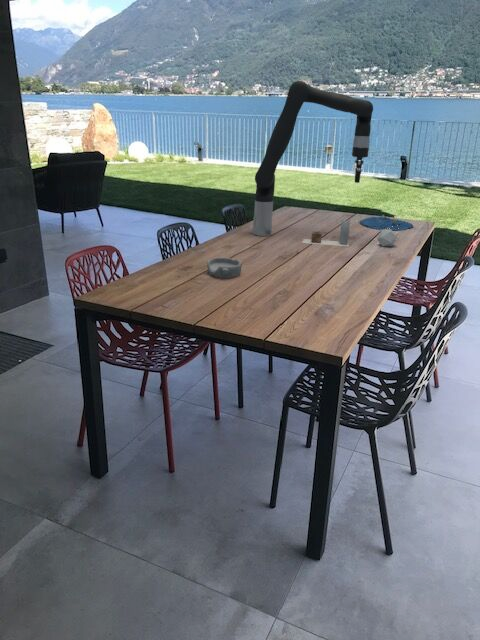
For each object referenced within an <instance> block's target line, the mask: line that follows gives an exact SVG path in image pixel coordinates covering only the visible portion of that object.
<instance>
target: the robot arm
mask: <svg viewBox="0 0 480 640" xmlns="http://www.w3.org/2000/svg"><path fill="white" fill-rule="evenodd" d="M286 96H287V97H286V99H285V103H284V106H283V109H282V111H281V112H280V115H279V116H278V119H277V121H276V123H275V125H274V128H273V129H272V133H271V135H270V138H269V140H268V144H267V147H266V151H265V154H264V157H263V159H262V161H261V164H260V166H259V167H258V170H257V171H256V173H255V175H254V181H255V184H256V185H255V186H256V188H255V190H256V191H255V195H254V215H253V220H252V221H253V222H252V235H254V236H259V237H269V236H271V235H272V232H273V230H272V228H273V211H274V209H273V207H274V195H275V186H276V185H275V183H276V176H275V175H276V174H275V173H276V169H277V166H278V164H279V162H280V160H281V159H282V157H283V155H284V154H285V151H286V150H287V148H288V147H289V144H290V141H291V139H292V136H293V133H294V131H295V130H294V129H295V126H296V123H297V119H298V115H299V112H300V110H301V109H302V107H303V104H304V103H311V104H317V105H320V106H323V107H327V108H329V109H332V110H336V111H339V112H344V113H350V114H352V115H356V124H355V130H354V137H353V141H352V148H351V149H352V150H351V151H352V152H351V156H352V157H354V158H356V159H355V160H354V183H357V184H359V183H360V181H361V174H362V171H363V166H364V160H363V158H368V157H369V152H370V151H369V149H370V143H371V142H370V139H371V138H370V137H371V129H372V128H371V126H372V125H371V124H372V123H371V122H372V116H373V113H374V112H373V111H374V105H373V103H372V102H371V101H369V100H366V99H362V98H356V97H353V96H349V95H347V94H342V93H339V92H334V91H327V90H322V89H319V88H316V87H313V86H312V85H309V84H307V83H306V82H305V81H302V80H295V81H293V82H292V84H291V85H290V86H289V87H288V92H287V95H286Z"/></svg>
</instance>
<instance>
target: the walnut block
mask: <svg viewBox="0 0 480 640" xmlns="http://www.w3.org/2000/svg"><path fill="white" fill-rule="evenodd" d="M322 235H323V232H322V231H312V232H311V243H321V240H322Z"/></svg>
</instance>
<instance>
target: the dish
mask: <svg viewBox="0 0 480 640" xmlns="http://www.w3.org/2000/svg"><path fill="white" fill-rule="evenodd" d="M206 263H207V265H206V267H207V271H208V274H209V275H210V276H212V275H213V276H212V277H216V278H219V277H221V278H220V279H230V278H231V279H232V278H235V277H238V276H240V275H241V274H242V273H241V272H242V265H243V263H242V261H240V260H238V259H233V258H231V257H214V258H213V257H212V258H210V259H208V260H207V262H206Z"/></svg>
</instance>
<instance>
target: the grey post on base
mask: <svg viewBox="0 0 480 640" xmlns="http://www.w3.org/2000/svg"><path fill="white" fill-rule="evenodd" d="M340 223H341V224H340V232H339V241H337V240H336V241H335V240H325V239H324V240H322V239H321V243H311V239H312V238H311V239H310V238H309V239H307V238H303V239H302V242H301V243H302V244H311V245H312V244H313V245H326V246H336V247H337V246H338V247H339V246H340V247H349V246H350V244H349V243H350V242H349V236H350V228H351V227H350V225H351V224H350V223H351V220H347V219H346V220H345V219H342V220H341V222H340Z"/></svg>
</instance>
